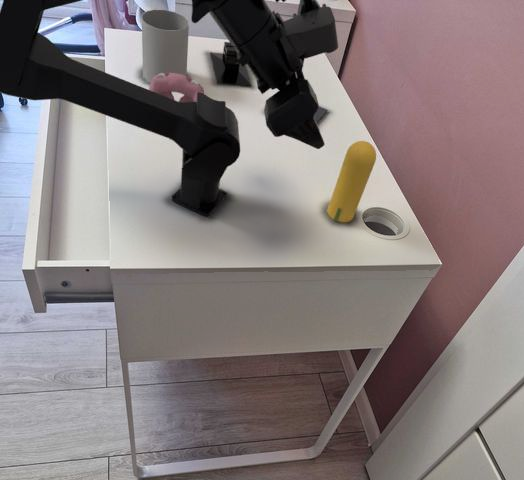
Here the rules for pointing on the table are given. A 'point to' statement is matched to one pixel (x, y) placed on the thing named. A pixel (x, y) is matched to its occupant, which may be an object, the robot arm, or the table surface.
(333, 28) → the robot arm
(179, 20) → the cup
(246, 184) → the table surface
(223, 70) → the dark flat-based piece
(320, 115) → the coaster
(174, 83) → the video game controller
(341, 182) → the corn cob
